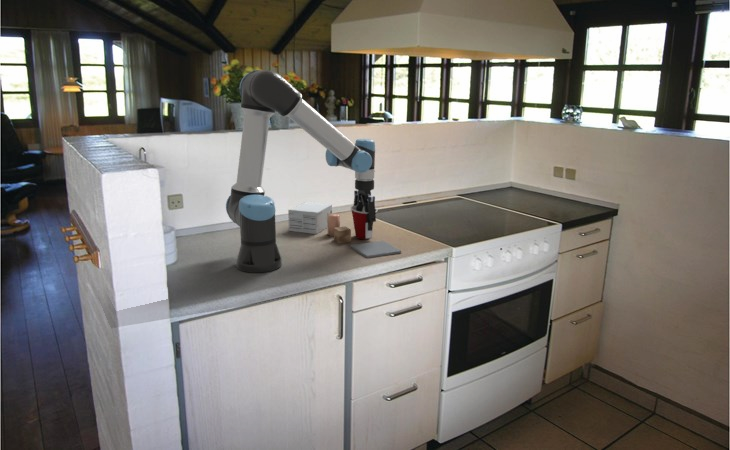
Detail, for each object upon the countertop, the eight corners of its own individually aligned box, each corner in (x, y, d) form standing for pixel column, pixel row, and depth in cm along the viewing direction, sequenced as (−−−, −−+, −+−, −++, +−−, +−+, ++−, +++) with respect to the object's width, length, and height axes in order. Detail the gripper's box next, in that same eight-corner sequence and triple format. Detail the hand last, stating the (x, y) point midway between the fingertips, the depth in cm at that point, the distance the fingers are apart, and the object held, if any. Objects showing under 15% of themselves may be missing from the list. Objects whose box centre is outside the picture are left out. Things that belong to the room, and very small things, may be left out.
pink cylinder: (330, 236, 222) (330, 217, 220) (325, 233, 226) (325, 214, 224) (341, 234, 224) (341, 215, 222) (336, 231, 228) (336, 213, 226)
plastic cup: (374, 241, 214) (375, 212, 211) (347, 239, 216) (347, 210, 213) (379, 234, 224) (380, 205, 221) (353, 232, 226) (353, 204, 223)
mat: (367, 258, 196) (367, 255, 196) (350, 247, 208) (350, 245, 208) (401, 253, 202) (401, 250, 202) (383, 242, 214) (383, 240, 214)
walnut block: (339, 243, 213) (339, 231, 212) (334, 239, 218) (334, 227, 216) (350, 241, 215) (350, 229, 214) (345, 238, 220) (345, 226, 218)
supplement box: (317, 234, 225) (317, 212, 222) (288, 231, 229) (287, 209, 226) (332, 224, 240) (332, 203, 238) (305, 221, 244) (304, 201, 242)
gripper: (386, 183, 206) (384, 241, 212) (361, 174, 225) (360, 227, 231) (368, 184, 203) (367, 243, 209) (344, 175, 222) (344, 229, 228)
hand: (363, 234), depth 220 cm, fingers closed on plastic cup, 9 cm apart
